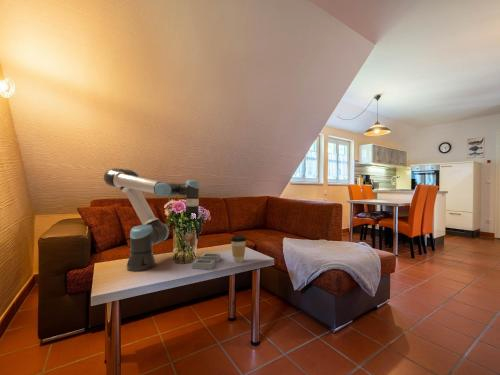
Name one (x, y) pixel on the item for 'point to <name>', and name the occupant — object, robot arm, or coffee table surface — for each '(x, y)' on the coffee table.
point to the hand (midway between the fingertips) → (191, 243)
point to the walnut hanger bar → (189, 238)
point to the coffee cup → (238, 248)
